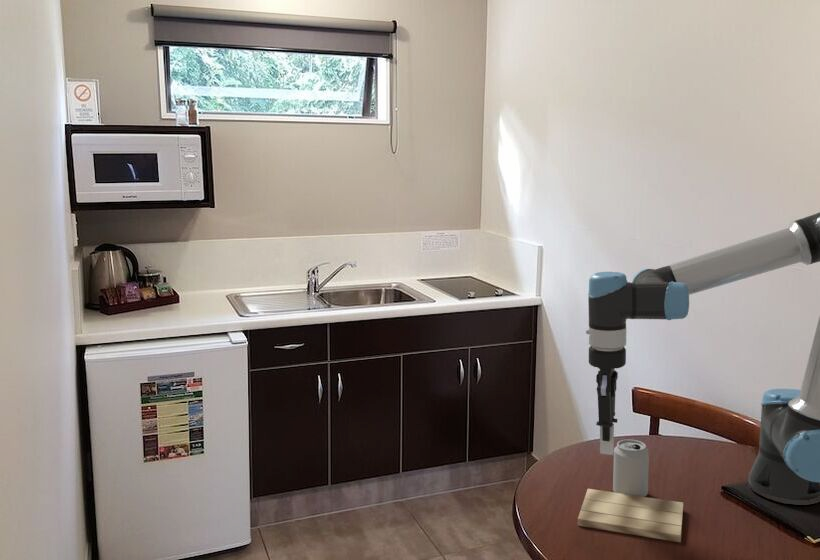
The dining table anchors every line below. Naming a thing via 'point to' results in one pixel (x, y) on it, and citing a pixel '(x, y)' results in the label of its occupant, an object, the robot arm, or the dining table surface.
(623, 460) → the can
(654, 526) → the laid board
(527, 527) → the dining table surface
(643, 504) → the plank
